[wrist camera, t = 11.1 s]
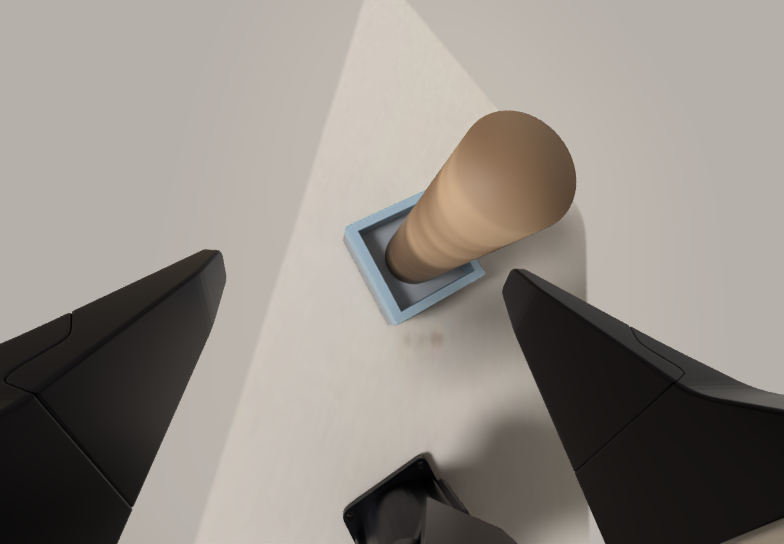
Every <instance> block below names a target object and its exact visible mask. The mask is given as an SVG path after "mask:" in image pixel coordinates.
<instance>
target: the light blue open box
mask: <svg viewBox="0 0 784 544" xmlns="http://www.w3.org/2000/svg"><path fill="white" fill-rule="evenodd" d="M425 191H426V190H425ZM425 191H423V192H420V193H418V194H416V195H414V196H412V197H410V198H407V199H405V200H403V201H401V202H399V203H396V204H394V205H392V206H390V207H388V208H385V209H383V210H381V211H379V212H377V213H374V214H372V215H370V216H368V217H366V218H364V219H361V220H359V221H357V222H355V223H353V224H350V225H348V226H346V227H345V233H344V239H343V241H344V243H345V245H346V247H347V249H348V251H349V253H350V255H351V256H352V258H353V260H354V262H355V264H356V266H357V268H358V270H359V271H360V273H361V275H362V277H363V279H364V281H365V283H366V285H367V287H368V288H369V290H370V292H371V294H372V296H373V298H374V300H375V302H376V304H377V305H378V307H379V309H380V311H381V313H382V315H383V317H384V319H385V320H386V322H387V324H388V325H398V324H400V323H402V322H404V321H405V320H407V319H409V318H411V317H412V316H414V315H416V314H418V313H419V312H421V311H423V310H425V309H426V308H428V307H430V306H432V305H433V304H435V303H437V302H439V301H440V300H442V299H444V298H445V297H447V296H449V295H451V294H452V293H454V292H456V291H458V290H459V289H461V288H463V287H465V286H466V285H468V284H470V283H472V282H473V281H475V280H477V279H479V278H480V277H482V276H484V275H486V274H485V272H484V270H483V268H482V267H481V265H480V263H479V261H478V259H475V260H473V261H470V262H468V263H466V264H463V265H461V266H459V267H457V268H454V269H452V270H450V271H448V272H445V273H443V274H441V275H439V276H436V277H434V278H432V279H430V280H427V281H425V282H423V283H420V284H406V283H403V282H401V281H399V280H398V279H396V278H395V277H394V276H393V275H392V274H391V273H390V271H389V270H388V268H387V265H386V262H385V250H386V247H387V244H388V242H389V241H390V239H391V238H392V237H393V235H394V234H395V232H396V231H397V230H398V228H399V227H400V225H401V224H402V223H403V221H404V220H405V219H406V217H407V216H408V214H409V213H410V212H411V210H412V209H413V207H414V206H415V205H416V203H417V202H418V200H419V199H420V198H421V196H422V195H423V193H424V192H425Z"/></svg>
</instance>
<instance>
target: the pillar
mask: <svg viewBox="0 0 784 544" xmlns="http://www.w3.org/2000/svg"><path fill="white" fill-rule="evenodd" d="M575 190H576V172H575V168H574V163H573V161H572V158H571V155H570V153H569V151H568V149H567V147H566V146H565V144H564V142H563V141H562V140H561V138H560V137H559V136H558V135H557V134H556V132H555V131H554V130H553V129H551V128H550V127H549V126H548V125H546V124H545V123H544V122H542V121H541V120H539V119H537V118H536V117H533V116H531V115H529V114H526V113H522V112H517V111H498V112H494V113H491V114H488V115H486V116H484V117H483V118H481V119H479V120H478V121H477V122H476V123H475V124H474V125H473V126H472V127H471V128H470V129H469V131H468V132H467V134H466V135H465V136H464V138H463V139H462V140H461V142H460V143H459V145H458V146H457V147H456V149H455V150H454V152H453V153H452V154H451V156H450V157H449V159H448V160H447V161H446V163H445V164H444V166H443V167H442V168H441V170H440V171H439V173H438V174H437V175H436V177H435V178H434V179H433V181H432V182H431V184H430V185H429V186H428V188H427V189H426V191H425V192H424V193H423V195H422V196H421V198H420V199H419V200H418V202H417V203H416V205H415V206H414V207H413V209H412V210H411V212H410V213H409V214H408V216H407V217H406V219H405V220H404V221H403V223H402V224H401V225H400V227H399V228H398V230H397V231H396V232H395V234H394V235H393V237H392V238H391V239H390V241H389V242H388V244H387V247H386V250H385V262H386V265H387V268H388V270H389V271H390V273H391V274H392V275H393V276H394V277H395V278H396V279H398V280H399V281H401V282H403V283H406V284H420V283H423V282H425V281H427V280H430V279H432V278H434V277H436V276H439V275H441V274H443V273H445V272H448V271H450V270H452V269H454V268H457V267H459V266H461V265H463V264H466V263H468V262H470V261H473V260H475V259H477V258H479V257H482V256H484V255H486V254H488V253H491V252H493V251H495V250H497V249H500V248H502V247H504V246H506V245H509V244H511V243H513V242H515V241H518V240H520V239H522V238H524V237H527V236H529V235H531V234H534V233H536V232H538V231H540V230H543V229H545V228H547V227H549V226H551V225H553V224H555V223H556V222H557V221H559V220H560V219H561V218H562V217H563V216H564V215H565V214H566V212H567V211H568V209H569V208H570V206H571V204H572V202H573V199H574V195H575Z"/></svg>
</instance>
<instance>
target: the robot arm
mask: <svg viewBox="0 0 784 544" xmlns="http://www.w3.org/2000/svg"><path fill="white" fill-rule="evenodd" d="M225 283H226V272H225V267H224V261H223V256H222V253H221V252H220V251H219V250H207V249H205V250H202V251H200V252H198V253H196V254H193V255H191V256H189V257H187V258H185V259H183V260H181V261H178V262H176V263H174V264H172V265H170V266H168V267H166V268H163V269H161V270H160V271H157V272H155V273H153V274H151V275H148V276H146V277H144V278H142V279H140V280H138V281H136V282H134V283H131V284H130V285H127V286H125V287H123V288H121V289H119V290H117V291H114V292H112V293H110V294H108V295H106V296H104V297H102V298H99V299H97V300H95V301H93V302H91V303H89V304H87V305H85V306H83V307H80V308H78V309H76V310H74V311H72V314H71V313H68V314H65V315H63V316H61V317H59V318H57V319H55V320H53V321H51V322H48V323H46V324H44V325H42V326H39V327H37V328H35V329H33V330H31V331H28V332H26V333H24V334H22V335H20V336H17V337H15V338H13V339H10V340H8V341H6V342H3V343H1V344H0V544H117V543H118V541H119V539H120V536H121V534H122V531H123V530H124V527H125V525H126V523H127V521H128V518H129V516H130V514H131V511H132V508H131V507H133V506H134V504H135V502H136V500H137V497H138V495H139V493H140V491H141V488H142V486H143V484H144V481H145V479H146V477H147V475H148V472H149V470H150V468H151V466H152V463H153V461H154V459H155V457H156V454H157V452H158V450H159V448H160V445H161V443H162V441H163V438H164V436H165V434H166V432H167V429H168V427H169V425H170V423H171V420H172V418H173V416H174V413H175V411H176V409H177V407H178V404H179V402H180V400H181V398H182V395H183V393H184V391H185V389H186V386H187V384H188V382H189V379H190V377H191V375H192V373H193V370H194V368H195V366H196V364H197V361H198V359H199V357H200V355H201V352H202V350H203V348H204V346H205V343H206V341H207V339H208V337H209V334H210V332H211V329H212V326H213V324H214V321H215V317H216V314H217V310H218V307H219V304H220V300H221V297H222V293H223V289H224V286H225ZM502 294H503V298H504V301H505V304H506V307H507V311H508V314H509V317H510V320H511V324H512V327H513V330H514V333H515V335H516V338H517V340H518V342H519V345H520V347H521V349H522V352H523V354H524V356H525V359H526V361H527V363H528V365H529V368H530V370H531V372H532V375H533V377H534V379H535V382H536V384H537V386H538V389H539V391H540V393H541V395H542V398H543V400H544V402H545V405H546V407H547V409H548V412H549V414H550V416H551V419H552V421H553V423H554V426H555V428H556V430H557V432H558V435H559V437H560V439H561V442H562V444H563V446H564V449H565V451H566V453H567V456H568V458H569V460H570V463H571V465H572V467H573V469H574V471H575V475H576V477H577V479H578V481H579V484H580V486H581V488H582V491H583V493H584V495H585V498H586V500H587V502H588V505H589V507H590V509H591V512H592V514H593V516H594V518H595V521H596V523H597V525H598V528H599V530H600V532H601V535H602V537H603V539H604V542H605V544H784V395H781V394H776V393H771V392H767V391H764V390H760V389H757V388H754V387H752V386H749V385H746V384H744V383H742V382H740V381H737V380H735V379H733V378H731V377H729V376H727V375H725V374H723V373H721V372H719V371H717V370H715V369H713V368H711V367H709V366H707V365H705V364H703V363H701V362H699V361H697V360H695V359H692V358H691V357H688V356H686V355H684V354H683V353H680V352H679V351H677V350H675V349H673V348H671V347H669V346H667V345H665V344H663V343H661V342H659V341H657V340H655V339H653V338H651V337H650V336H648V335H646V334H644V333H642V332H640V331H638V330H636V329H635V328H633V327H629V325H627V324H625V323H623V322H621V321H620V320H618V319H616V318H614V317H612V316H610V315H608V314H607V313H605V312H603V311H601V310H599V309H597V308H595V307H594V306H592V305H590V304H588V303H586V302H585V301H583V300H581V299H579V298H577V297H575V296H573V295H572V294H570V293H568V292H566V291H564V290H562V289H560V288H559V287H557V286H555V285H553V284H551V283H549V282H548V281H546V280H544V279H542V278H540V277H538V276H536V275H535V274H533V273H531V272H529V271H527V270H525V269H513V270H511V272H510V273H509V276H508V278H507V280H506V282H505V284H504V287H503V290H502ZM419 462H423V465H422V466H421V467H418V463H419ZM350 512H353V513H354V515H353V516H352V517H348V516H347V515H348V514H349V513H350ZM343 519H344V522H345V524H346V526H347V528H348V530H349V532H350V534H351V536H352V538H353V540H354V542H355V544H517V543H516V542H515V541H514V540H513V539H512V538H511V537H510V536H509V535H507V534H506V533H505V532H504V531H503V530H502V529H500V528H498V527H496V526H494V525H492V524H489V523H487V522H485V521H482V520H480V519H478V518H475V517H473V516H471V515H470V514H469V512H468V511H467V509H466V508H465V507H464V505H463V504H462V503H461V501H460V500H459V499H458V497H457V496H456V494H455V493H454V492H453V490H452V489H451V488H450V486H449V485H448V483H447V482H446V481H445V479H441V478H440V479H439V480H436V478H435V476H434V474H433V472H432V470H431V468H430V466H429V464H428V462H427V461H426V459H425V458H424V457H423V456H417V457H415V458H414V459H412V460H411V461H410V462H408V463H407V464H405V465H404V466H403V467H401V468H400V469H398V470H397V471H396V472H394V473H393V474H391V475H390V476H389V477H387V478H386V479H384V480H383V481H382V482H380V483H379V484H377V485H376V486H374V487H373V488H372V489H370V490H369V491H367V492H366V493H365V494H363V495H362V496H360V497H359V498H358V499H356V500H355V501H353V502H352V503H351V504H349V505H348V506H347V507H346V508H345V509H344V511H343Z"/></svg>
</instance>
